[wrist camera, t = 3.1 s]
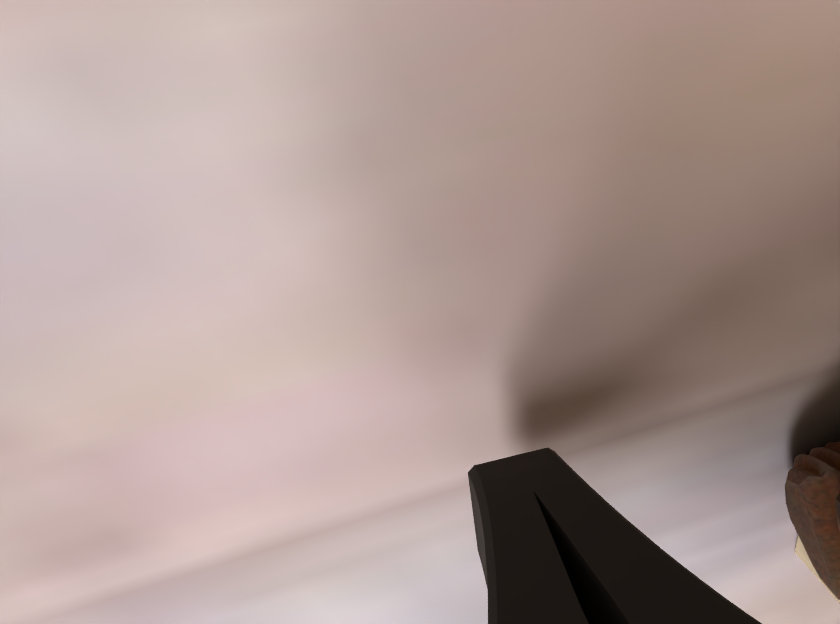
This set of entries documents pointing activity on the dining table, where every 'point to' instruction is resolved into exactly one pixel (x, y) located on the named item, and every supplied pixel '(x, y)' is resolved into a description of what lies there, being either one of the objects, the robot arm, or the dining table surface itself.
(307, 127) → the dining table surface
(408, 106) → the dining table surface
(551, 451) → the robot arm
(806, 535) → the bolt
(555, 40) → the dining table surface
